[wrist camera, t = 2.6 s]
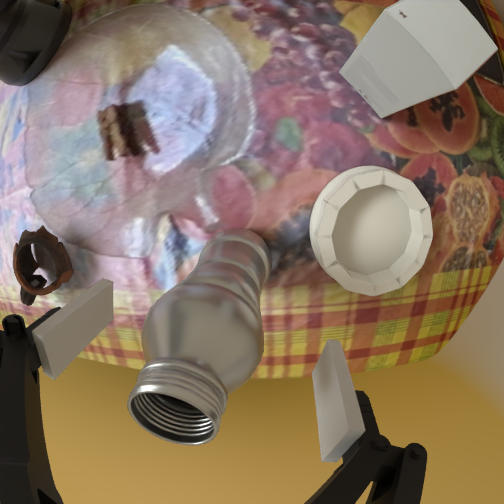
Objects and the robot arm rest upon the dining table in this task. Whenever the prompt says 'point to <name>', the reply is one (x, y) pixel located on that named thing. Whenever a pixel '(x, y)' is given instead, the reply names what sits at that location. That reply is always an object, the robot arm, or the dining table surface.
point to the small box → (417, 54)
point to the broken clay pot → (27, 265)
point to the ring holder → (370, 230)
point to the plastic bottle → (203, 340)
